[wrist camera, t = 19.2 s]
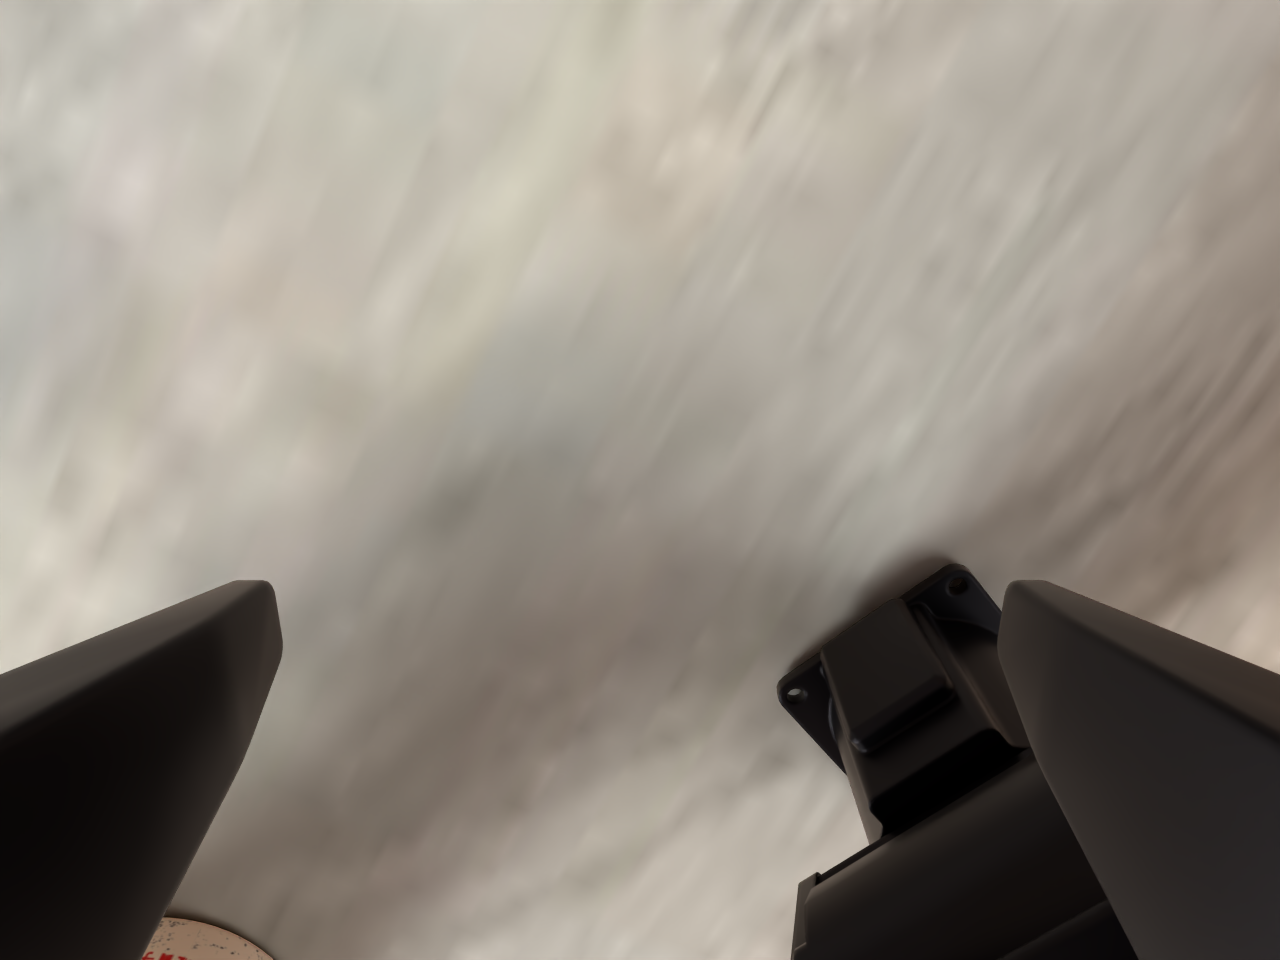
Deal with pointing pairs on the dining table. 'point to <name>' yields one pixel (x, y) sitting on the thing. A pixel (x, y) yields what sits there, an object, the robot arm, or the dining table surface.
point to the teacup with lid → (199, 943)
